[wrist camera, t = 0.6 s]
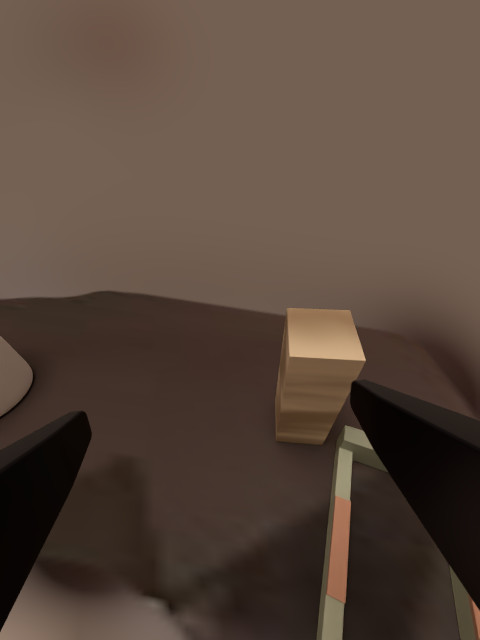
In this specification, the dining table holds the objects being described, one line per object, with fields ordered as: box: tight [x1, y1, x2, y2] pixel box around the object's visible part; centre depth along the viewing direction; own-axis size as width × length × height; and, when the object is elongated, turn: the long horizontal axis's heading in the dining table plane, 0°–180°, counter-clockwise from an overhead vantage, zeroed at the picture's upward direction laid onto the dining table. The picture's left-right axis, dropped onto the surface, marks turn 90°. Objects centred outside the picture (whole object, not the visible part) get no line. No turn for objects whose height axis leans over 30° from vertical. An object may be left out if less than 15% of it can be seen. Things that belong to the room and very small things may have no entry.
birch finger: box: [275, 308, 366, 445], centre depth 19 cm, size 4×4×12 cm
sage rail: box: [316, 425, 480, 640], centre depth 16 cm, size 13×8×3 cm, turn 159°
